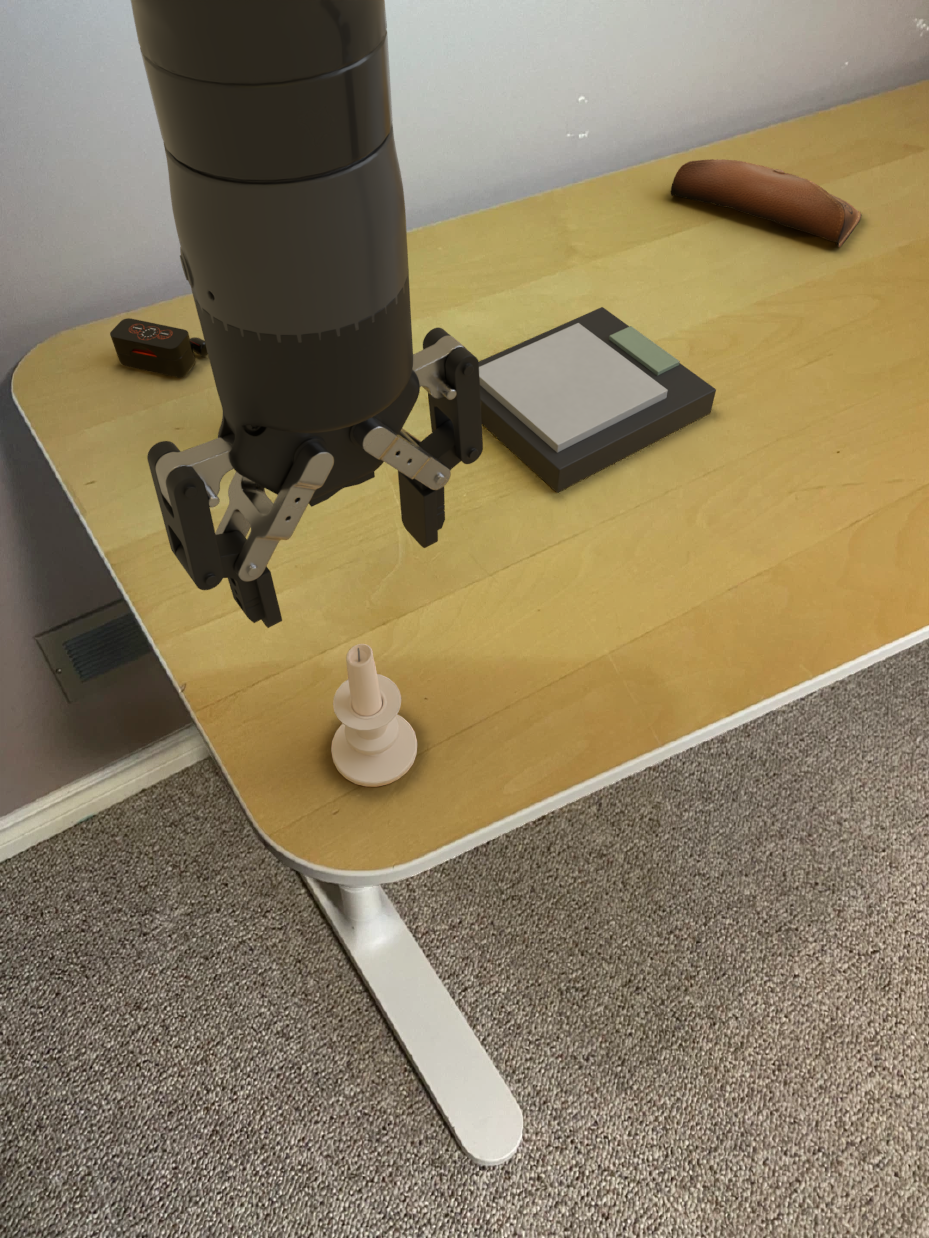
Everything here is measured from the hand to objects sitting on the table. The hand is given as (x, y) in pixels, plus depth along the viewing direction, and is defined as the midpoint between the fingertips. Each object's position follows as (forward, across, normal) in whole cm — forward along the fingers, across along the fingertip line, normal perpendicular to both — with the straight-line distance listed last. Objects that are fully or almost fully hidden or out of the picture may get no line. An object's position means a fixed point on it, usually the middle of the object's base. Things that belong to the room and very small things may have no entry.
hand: (345, 572), depth 46 cm
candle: (+17, 0, 0) cm, 17 cm away
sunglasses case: (+16, +66, +31) cm, 75 cm away
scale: (+16, +31, +18) cm, 40 cm away
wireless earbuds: (+17, +6, +43) cm, 47 cm away
